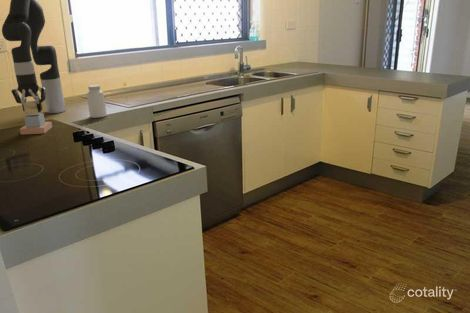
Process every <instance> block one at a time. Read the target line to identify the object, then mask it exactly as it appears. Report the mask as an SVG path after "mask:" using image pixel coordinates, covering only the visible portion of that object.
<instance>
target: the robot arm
mask: <svg viewBox="0 0 470 313" xmlns="http://www.w3.org/2000/svg"><path fill="white" fill-rule="evenodd" d="M8 11H9V12H8V14H7V16H6V18H5V20H4V22H3V24H2V27H1V33H2V34H1V35H2V37H3V38H4V39H5V41H8V42H20V45H19V46H15V47H12V48H11V51H10V52H11V57H12V61H13V69H14V74H15V78H16V83H17V88H14V89H11V94H12V97H13V98H14V100H15V102H16V103H17V104H21V106H22V111H23V112H24V113H25V110H24V106H23V103H24V102H26V101H28V98H29V97H31V98H33V99H34V100H35V101H36V102H37V108H38V112H40V113H41V112H42V110H43V106H42V105H43V104H42V103H43V102H44V103H45V104H44V105H45V110H46V113H47V114H59V113H63V112H66V111H67V109H66V105H65V98H64V93H63V87H62V82H61V76H60V70H59V65H58V56H57V52H56V51H57V50H56V48H55V46H53V45H39V44H38V42H39V39H40V35H41V33H42V32H43V30H44V27H45V24H46V19H45V15H44V9H43V7H42V5H41V4H40V2H39V1H38V0H10V5H9V10H8ZM32 59H33V60H32ZM33 62H34V64H36V65H37V66H49V65H50V67H49V69H47V70H45V71H43V72H41V73H40V74H39V79H40V84H41V87H40V86H39V85H38V80H37V76H36V71H35V70H36V69H35V66H34V64H33ZM38 92H39V93H40V95H39V93H38ZM19 93H20V94H19ZM20 95H21V96H20Z"/></svg>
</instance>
